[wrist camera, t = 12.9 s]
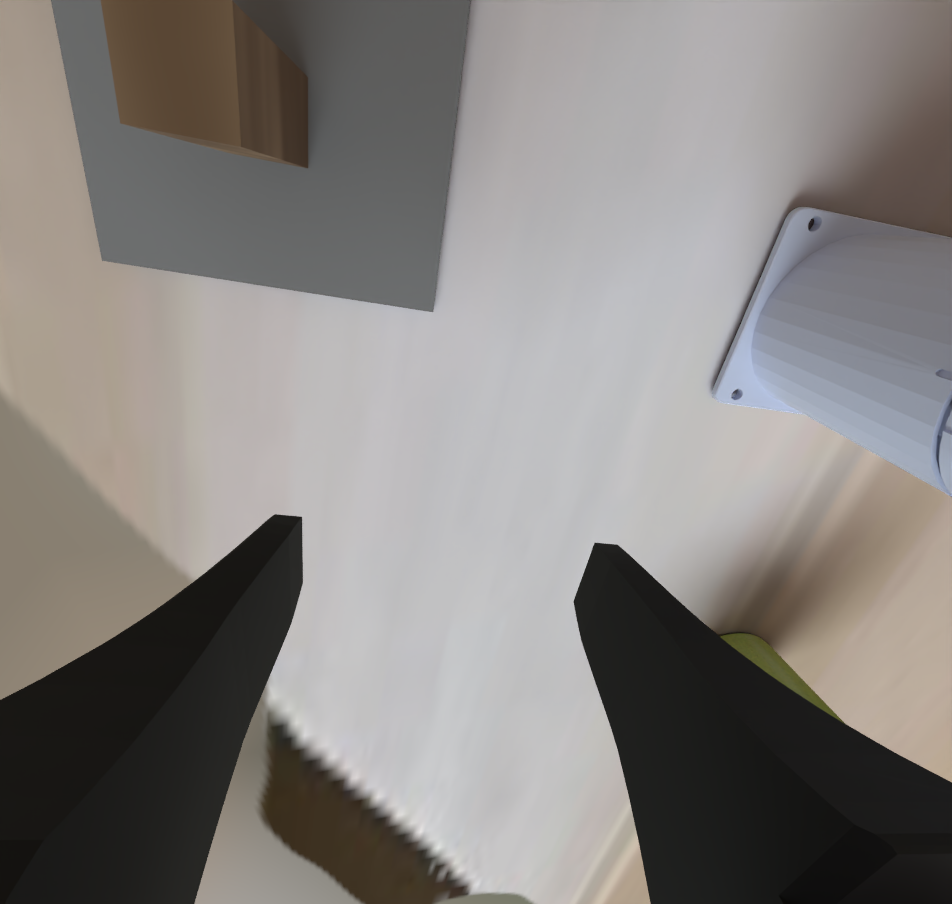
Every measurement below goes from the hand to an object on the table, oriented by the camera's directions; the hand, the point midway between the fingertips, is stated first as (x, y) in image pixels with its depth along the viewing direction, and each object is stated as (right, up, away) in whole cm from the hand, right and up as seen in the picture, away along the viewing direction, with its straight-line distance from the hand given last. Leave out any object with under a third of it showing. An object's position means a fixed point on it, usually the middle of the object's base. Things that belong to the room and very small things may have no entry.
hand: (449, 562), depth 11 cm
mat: (-6, +14, +4) cm, 16 cm away
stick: (-6, +14, +4) cm, 15 cm away
